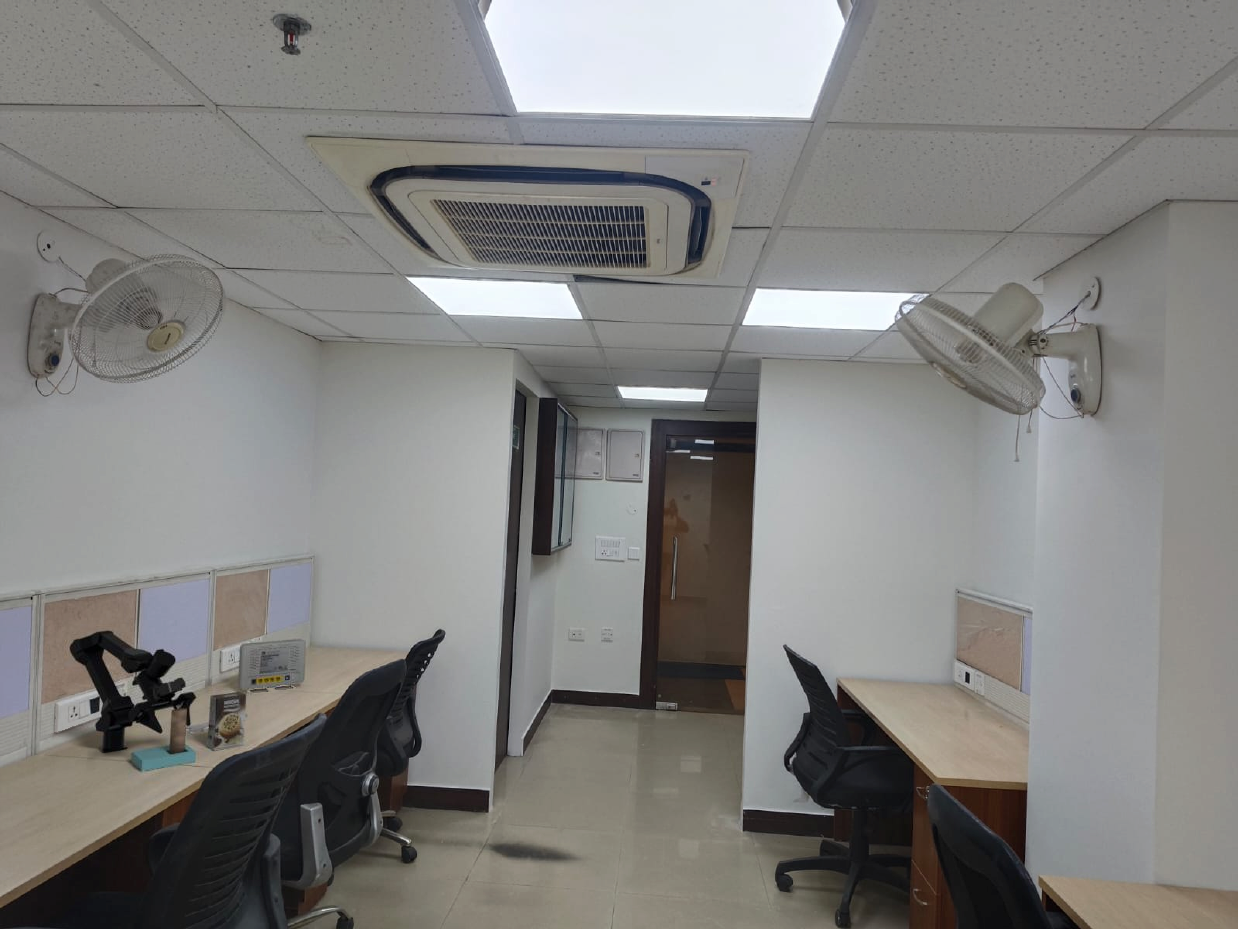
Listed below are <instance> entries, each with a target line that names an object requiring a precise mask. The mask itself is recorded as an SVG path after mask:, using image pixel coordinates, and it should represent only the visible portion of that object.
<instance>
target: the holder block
mask: <svg viewBox="0 0 1238 929" xmlns="http://www.w3.org/2000/svg"><path fill="white" fill-rule="evenodd" d="M169 751H170V744H168V745H161V746H156V747H152V748H145V749H144V748H143V749H139V750H133V751H131V758H130V760H131V761H130V762H131V763H132V764H133V763H134V764H135V765H136V766H137V767H138V768H139V769H140V770H141V771H143V770H149V771H153V770H152V769H154V770H158V769H157V768H159V769H162V768H161V767H165V768H169V766H170V767H174V765H176V766H179V765H178V764H181V765H185V764H184V763H186V764H191V763H196V755H197V752H196V750H195V749H193V748H191V746H189V745H188V744H186V743H185V752H182V753H177V754H171V755H170V754H169ZM134 764H133V765H134ZM135 765H134V766H135ZM136 766H135V767H136ZM137 767H136V768H137ZM138 768H137V769H138ZM139 769H138V770H139ZM140 770H139V771H140ZM141 771H140V772H141ZM143 772H144V771H143Z"/></svg>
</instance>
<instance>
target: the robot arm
mask: <svg viewBox="0 0 1238 929" xmlns="http://www.w3.org/2000/svg"><path fill="white" fill-rule="evenodd" d="M69 651H70V653H71V655H72V657H73V658H74V661H76V662H77V663H79V664H81V665H83V666H84V667H85V669H86V671H87V673H88V676H89V677H90V679H91V681H92V684H93V685H94V688H95V690H96V692H97V694H98V696H99V698H100V701H101V703H102V704H101V705H102V706H101V710H100V715H101V716H100V717H99V719H98V720H97V721H96V722H95V724H94V726H95V731H97V732H99V733H100V732H101V733H102V745H100V746H98V749H99V750H100V751H101V752H102V753H109V752H110V753H111V752H116V751H121V750H127V749H128V746H127V745H126V744H125V734H126V733H125V732H126V728H129V727H133V724H134V723H136V724H140V725H142V726H145V727H146V728H149V729H150V730H152V731H155V732H156V733H157V734H160V735H161V734H162V733H163V732H164V730H163V728H162V725H161V724H160V722H159V720H158V718H157V716H156V712H157V711H161V710H165V709H170V708H173V710H174V709H181V708H184V709H187V717H186V726H191V725H192V724H191V723H192V722H191V713H190V712H191V711H190V710H191V709H190V708H191V705H192V704H193V703H194V701H195V700H196V699H197V696H196V694H195V692H193V691H187V692H183V693H180V694H179V695H178V696H177V697H176V699H173V698H174V697H175V696H176V694H177V693H178V692H181V691H183V689H184V688H186V686H187V685H186V681H185V679H184V678H183V677H178V678H176V679H174V680H173V681H168V682H163V681H162V679H161V678H163V677H165V676H166V675H167V673H168V672H169V671H170V670H171V669H172V668H173V666H174V665H175V664H176V663H177V662H176V656H175V655H173V654H172V653H171V652H168V651H165V650H164V648H159V649H156V651H155V652H154V654H152V652H150V651H148V650H144V649H141V648H135V647H133V646H131V645H130V644H128V643H127V642H125V641H124V640H122V638H120V637H118V636H117V635H115V634H114V632H113V630H109V629H108V630H102V631H101V630H100V631H99V630H98V631H96V632H93V633H92V634H90V635H86V636H84V637H81V638H75V639H73V641H72V642H71V643H70V646H69ZM105 651H107V652H108V653H109V654H110V655H112V656H113V657H115V658H116V659H117V660H119V661H120V667H121V668H122V669H123V670H124V671H125V672H126V673H127V674H130V675H131V674H135V673H138V674H137V675H136V676H134V677H133V680H132V683H131V685H132V686H133V687H134V686H138V687H139V689H140V691H141V692H142V694H143V695H142V697H141V699H142V701H141V702H138V703H136V704H135V703H134V702H133V700H132V698H131V696H130V695H125V696H123V695H121V694H120V692H119V689H118V687H117V685H116V684H115V681H114V679H113V677H112V675H111V673H110V671H109V669H108V667H107V664H106V663H105V661H104V659H103V655H104V653H105ZM145 700H146V701H145Z"/></svg>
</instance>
